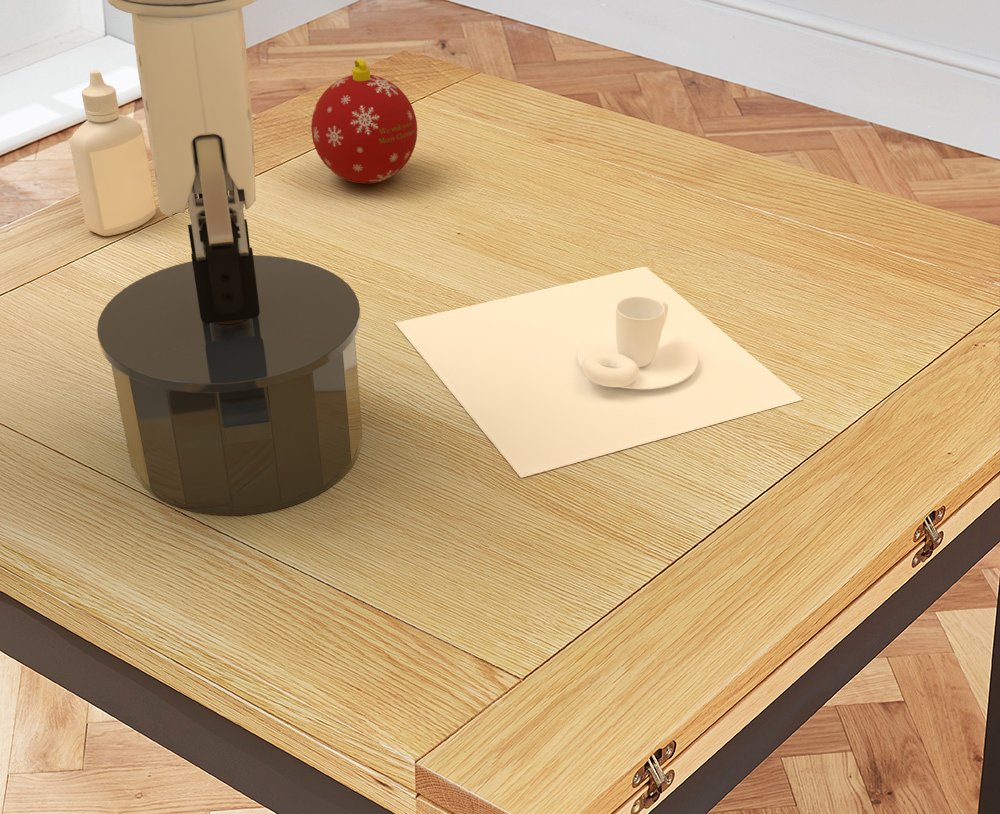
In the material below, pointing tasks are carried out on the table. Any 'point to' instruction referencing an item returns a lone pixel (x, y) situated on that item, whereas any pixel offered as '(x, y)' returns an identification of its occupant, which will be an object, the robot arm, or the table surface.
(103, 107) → the eye dropper bottle
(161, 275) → the lid
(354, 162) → the christmas ornament
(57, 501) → the table surface
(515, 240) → the table surface
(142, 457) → the dark grey open cylinder
